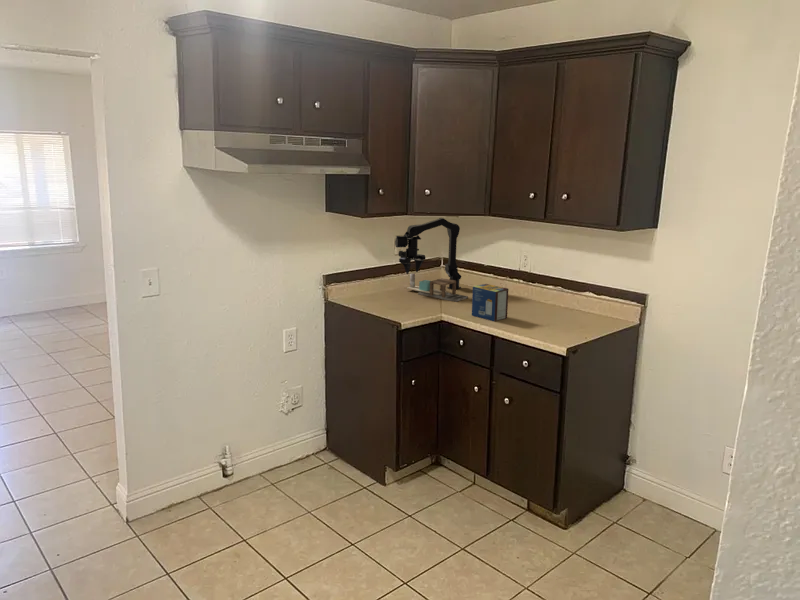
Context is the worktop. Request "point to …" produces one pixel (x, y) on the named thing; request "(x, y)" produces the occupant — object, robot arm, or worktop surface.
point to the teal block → (424, 285)
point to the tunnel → (444, 290)
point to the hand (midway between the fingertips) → (412, 272)
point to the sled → (416, 288)
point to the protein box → (490, 302)
